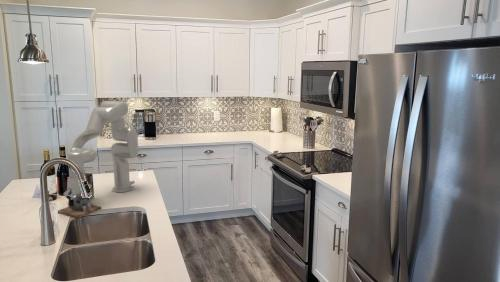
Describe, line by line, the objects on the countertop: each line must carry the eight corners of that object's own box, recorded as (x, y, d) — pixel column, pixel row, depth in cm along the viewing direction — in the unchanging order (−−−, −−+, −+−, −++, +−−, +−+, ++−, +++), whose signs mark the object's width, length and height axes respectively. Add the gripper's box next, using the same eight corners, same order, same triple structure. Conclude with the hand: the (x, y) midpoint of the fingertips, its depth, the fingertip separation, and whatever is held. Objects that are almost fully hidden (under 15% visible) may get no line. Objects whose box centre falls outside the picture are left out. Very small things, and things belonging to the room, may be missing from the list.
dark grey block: (78, 206, 209) (77, 196, 208) (88, 208, 206) (87, 198, 205) (70, 208, 205) (70, 198, 204) (80, 211, 201) (80, 201, 200)
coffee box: (85, 197, 227) (83, 172, 224) (94, 198, 226) (93, 173, 223) (75, 202, 218) (73, 176, 215) (85, 203, 217) (83, 177, 214)
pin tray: (81, 203, 216) (81, 197, 215) (101, 208, 209) (100, 201, 208) (57, 212, 202) (56, 205, 201) (77, 218, 195) (76, 210, 194)
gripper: (85, 169, 211) (87, 197, 214) (58, 176, 196) (60, 207, 199) (94, 170, 208) (96, 199, 211) (67, 178, 192) (70, 209, 196)
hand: (79, 203), depth 205 cm, fingers open, 9 cm apart
